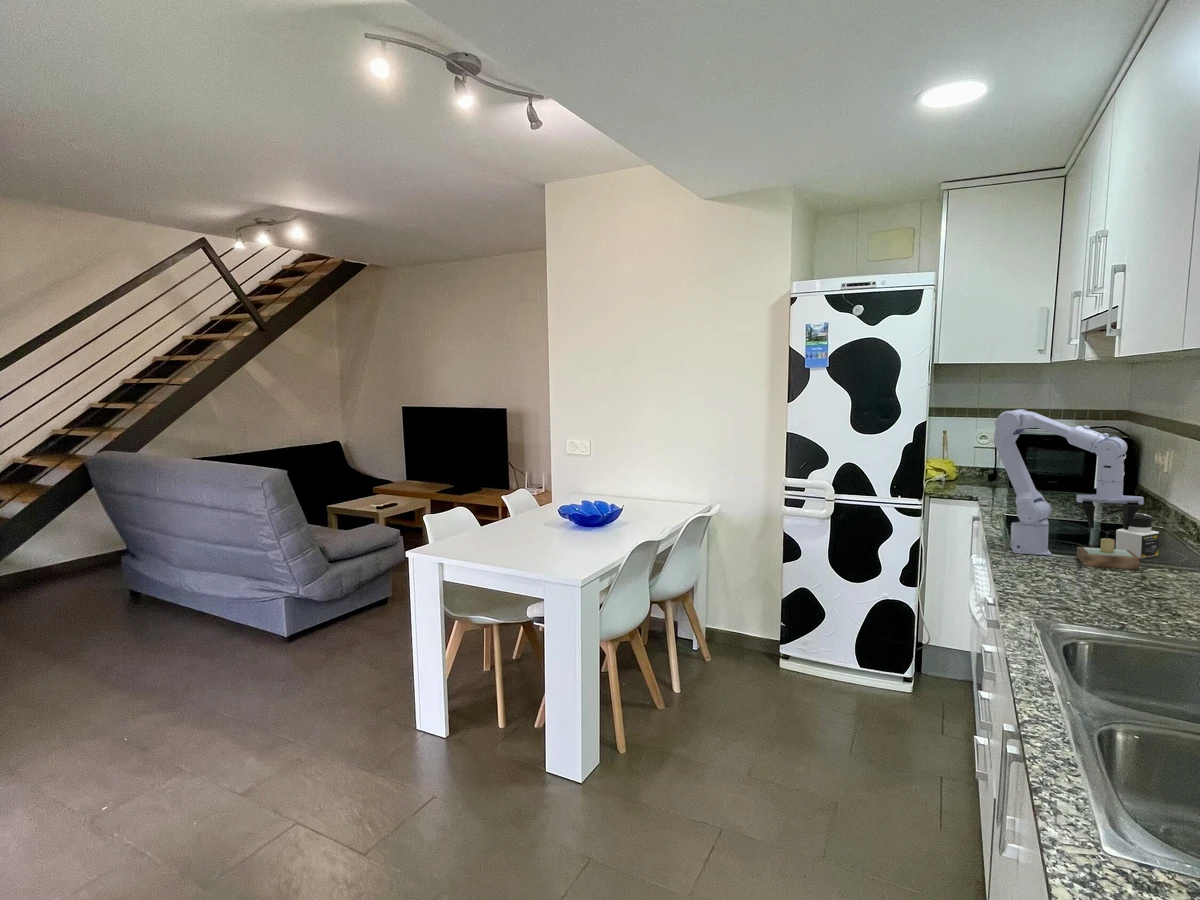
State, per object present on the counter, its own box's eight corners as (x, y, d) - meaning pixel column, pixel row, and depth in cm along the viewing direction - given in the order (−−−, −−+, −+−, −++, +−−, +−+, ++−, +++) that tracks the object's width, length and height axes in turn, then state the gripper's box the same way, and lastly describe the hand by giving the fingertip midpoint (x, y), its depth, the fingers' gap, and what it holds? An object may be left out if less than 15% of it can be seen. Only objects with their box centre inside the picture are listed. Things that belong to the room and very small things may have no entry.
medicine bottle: (1141, 558, 179) (1143, 518, 178) (1114, 552, 186) (1116, 513, 185) (1158, 555, 181) (1160, 515, 180) (1131, 549, 188) (1133, 511, 187)
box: (1084, 566, 175) (1084, 555, 175) (1076, 557, 183) (1077, 546, 183) (1139, 570, 170) (1139, 558, 169) (1128, 561, 178) (1129, 549, 177)
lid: (1088, 557, 175) (1089, 541, 175) (1082, 550, 181) (1083, 535, 181) (1132, 559, 171) (1133, 543, 170) (1125, 553, 177) (1125, 537, 176)
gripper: (1081, 482, 173) (1079, 529, 175) (1148, 483, 167) (1146, 533, 168) (1075, 478, 180) (1073, 524, 181) (1139, 479, 173) (1137, 527, 175)
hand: (1108, 528), depth 175 cm, fingers open, 7 cm apart
